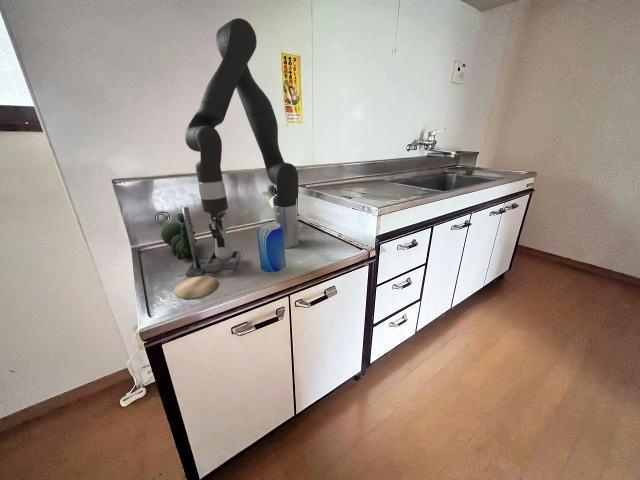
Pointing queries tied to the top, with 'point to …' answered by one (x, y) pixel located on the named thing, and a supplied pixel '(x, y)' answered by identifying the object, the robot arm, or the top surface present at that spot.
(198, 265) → the ring stand
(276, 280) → the top surface
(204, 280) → the disc
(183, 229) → the toy figurine
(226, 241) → the salt shaker
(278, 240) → the beer can
